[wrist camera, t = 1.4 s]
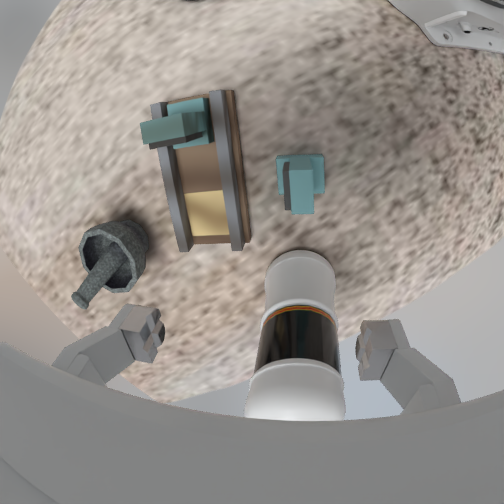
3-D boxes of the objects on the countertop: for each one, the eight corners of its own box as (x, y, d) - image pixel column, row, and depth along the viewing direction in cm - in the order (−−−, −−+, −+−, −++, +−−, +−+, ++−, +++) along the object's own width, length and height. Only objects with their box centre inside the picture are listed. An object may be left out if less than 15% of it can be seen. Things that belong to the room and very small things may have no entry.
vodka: (347, 266, 35) (381, 515, 9) (310, 312, 40) (301, 526, 14) (286, 234, 34) (249, 515, 8) (254, 286, 39) (197, 512, 13)
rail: (160, 105, 28) (114, 109, 20) (233, 90, 26) (207, 84, 18) (185, 239, 37) (155, 279, 28) (251, 237, 35) (236, 280, 27)
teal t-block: (321, 154, 29) (330, 169, 22) (323, 188, 31) (330, 213, 24) (277, 155, 30) (271, 171, 23) (279, 189, 31) (274, 215, 25)
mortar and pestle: (121, 195, 35) (65, 233, 24) (170, 237, 37) (128, 289, 27) (95, 245, 40) (50, 287, 30) (137, 281, 42) (100, 332, 32)
